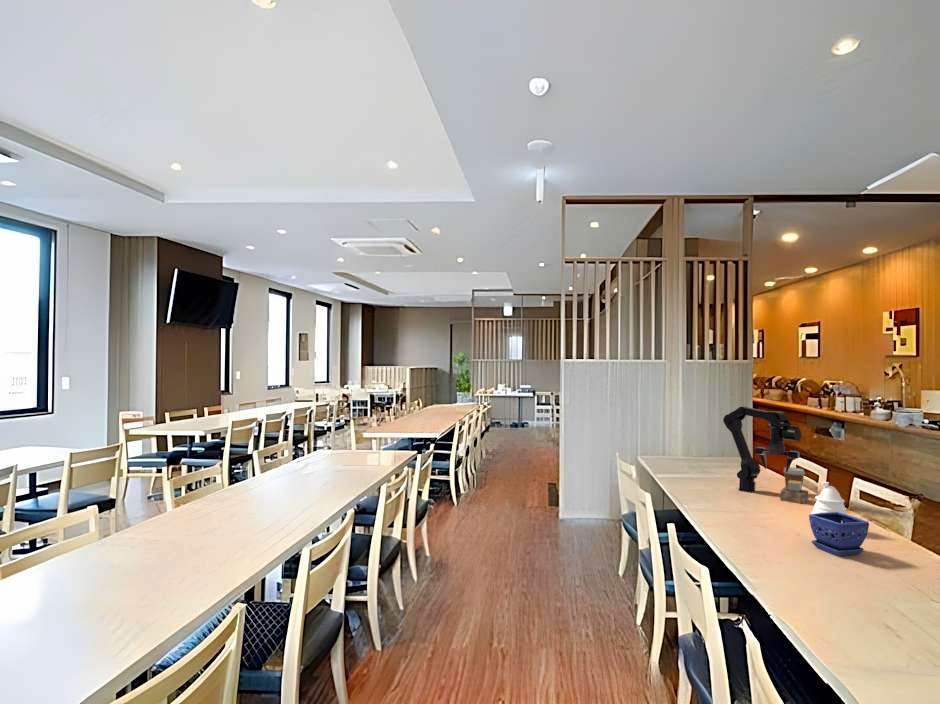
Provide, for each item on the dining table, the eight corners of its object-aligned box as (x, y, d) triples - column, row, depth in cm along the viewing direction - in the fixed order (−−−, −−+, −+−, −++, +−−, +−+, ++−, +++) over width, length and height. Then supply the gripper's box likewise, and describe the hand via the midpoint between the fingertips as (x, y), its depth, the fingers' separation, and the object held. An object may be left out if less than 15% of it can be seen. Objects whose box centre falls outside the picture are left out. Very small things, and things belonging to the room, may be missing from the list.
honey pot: (811, 529, 234) (812, 483, 234) (810, 521, 245) (811, 477, 245) (850, 535, 228) (851, 488, 228) (846, 526, 239) (848, 481, 239)
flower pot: (838, 559, 200) (839, 523, 200) (806, 546, 213) (807, 512, 213) (869, 556, 204) (870, 521, 204) (836, 543, 217) (837, 511, 217)
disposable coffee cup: (804, 493, 297) (805, 468, 297) (803, 496, 289) (804, 472, 289) (783, 490, 302) (784, 466, 302) (781, 493, 294) (782, 469, 294)
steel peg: (787, 500, 280) (787, 481, 280) (789, 498, 284) (789, 479, 284) (799, 502, 277) (799, 483, 277) (801, 500, 281) (801, 481, 281)
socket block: (780, 500, 280) (780, 490, 280) (784, 496, 288) (784, 487, 288) (804, 504, 274) (804, 494, 274) (808, 500, 282) (808, 490, 282)
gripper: (752, 437, 284) (750, 470, 284) (796, 442, 273) (795, 476, 273) (757, 435, 293) (756, 466, 293) (800, 439, 281) (799, 472, 282)
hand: (776, 470), depth 285 cm, fingers open, 9 cm apart
